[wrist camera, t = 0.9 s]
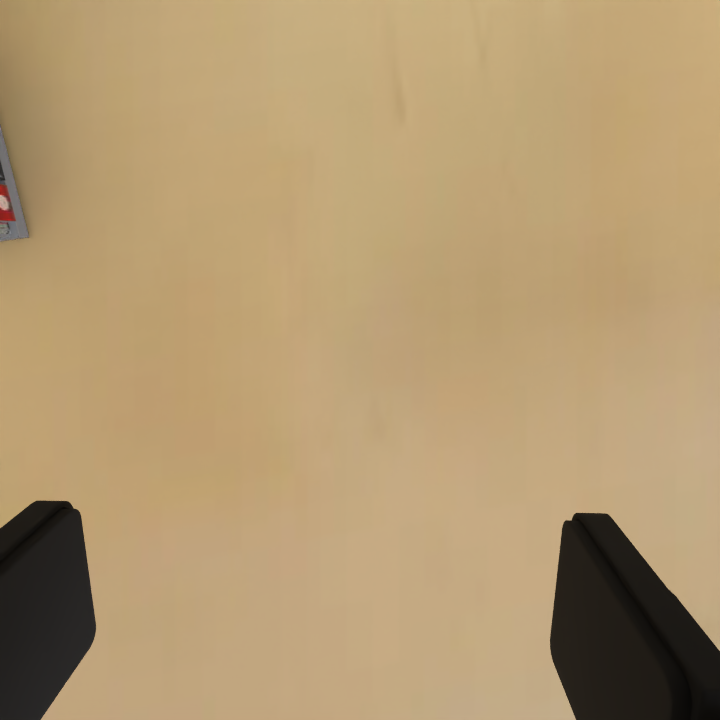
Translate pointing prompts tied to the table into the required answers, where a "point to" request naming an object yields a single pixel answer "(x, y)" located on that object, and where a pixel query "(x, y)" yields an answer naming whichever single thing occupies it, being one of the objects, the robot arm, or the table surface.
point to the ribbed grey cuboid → (9, 200)
